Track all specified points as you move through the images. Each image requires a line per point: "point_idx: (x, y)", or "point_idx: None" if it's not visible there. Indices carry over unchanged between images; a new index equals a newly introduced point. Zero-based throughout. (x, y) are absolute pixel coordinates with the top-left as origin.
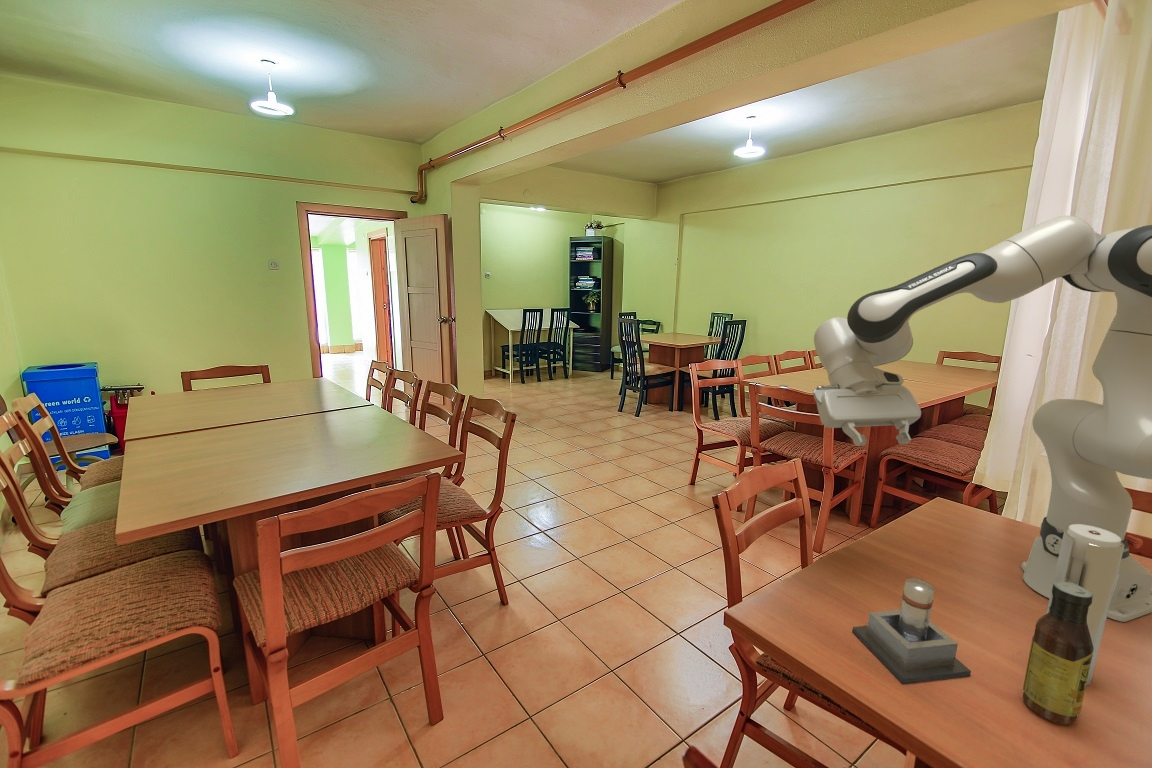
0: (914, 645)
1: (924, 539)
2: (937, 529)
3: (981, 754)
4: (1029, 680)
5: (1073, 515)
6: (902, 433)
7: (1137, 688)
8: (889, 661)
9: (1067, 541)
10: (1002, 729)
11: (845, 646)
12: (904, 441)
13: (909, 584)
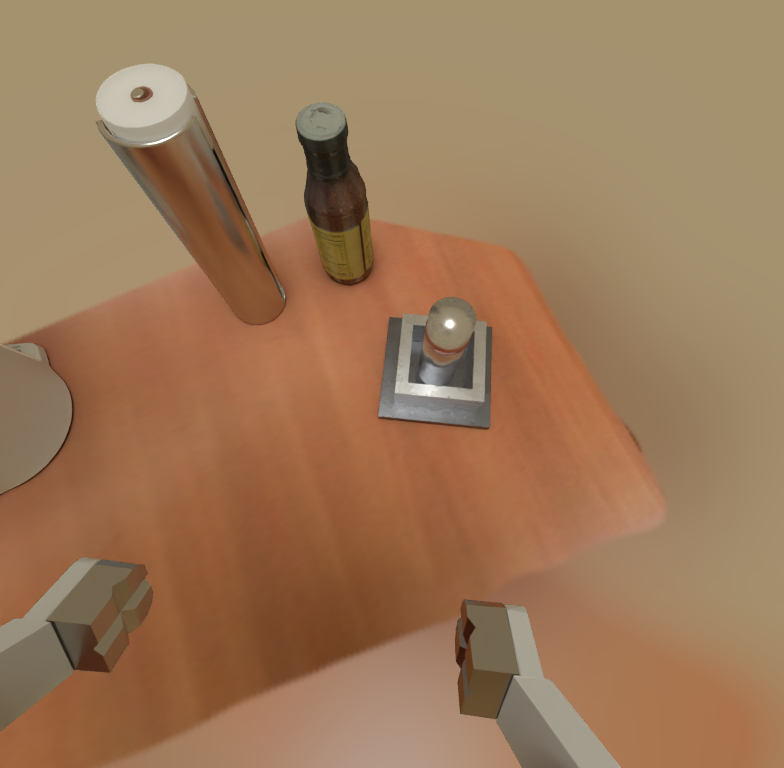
0: None
1: None
2: None
3: (480, 245)
4: (369, 252)
5: None
6: (88, 613)
7: None
8: (487, 354)
9: (197, 138)
10: (428, 259)
11: (519, 405)
12: (140, 565)
13: (469, 325)
